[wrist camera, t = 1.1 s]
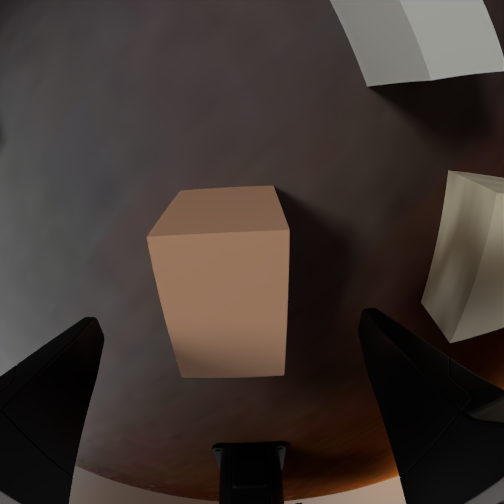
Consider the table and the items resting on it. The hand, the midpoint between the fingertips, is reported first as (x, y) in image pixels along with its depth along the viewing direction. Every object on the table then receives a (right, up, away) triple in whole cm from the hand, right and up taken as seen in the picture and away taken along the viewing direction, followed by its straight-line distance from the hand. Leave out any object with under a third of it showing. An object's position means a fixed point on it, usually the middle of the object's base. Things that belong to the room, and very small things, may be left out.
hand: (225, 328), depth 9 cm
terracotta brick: (0, +3, +5) cm, 5 cm away
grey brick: (+6, +13, 0) cm, 14 cm away
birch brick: (+14, +3, +5) cm, 15 cm away
